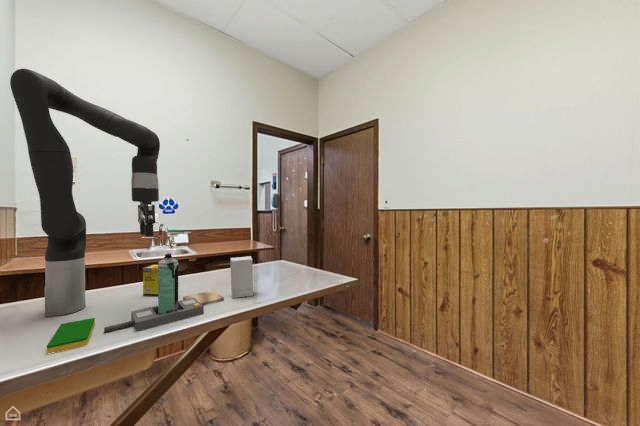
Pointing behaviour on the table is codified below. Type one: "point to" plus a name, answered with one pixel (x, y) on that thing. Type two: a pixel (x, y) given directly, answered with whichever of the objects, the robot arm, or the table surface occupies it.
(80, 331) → the dish sponge
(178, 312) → the power strip
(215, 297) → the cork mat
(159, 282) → the spray can
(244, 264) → the skincare box
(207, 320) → the table surface
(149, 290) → the supplement box
